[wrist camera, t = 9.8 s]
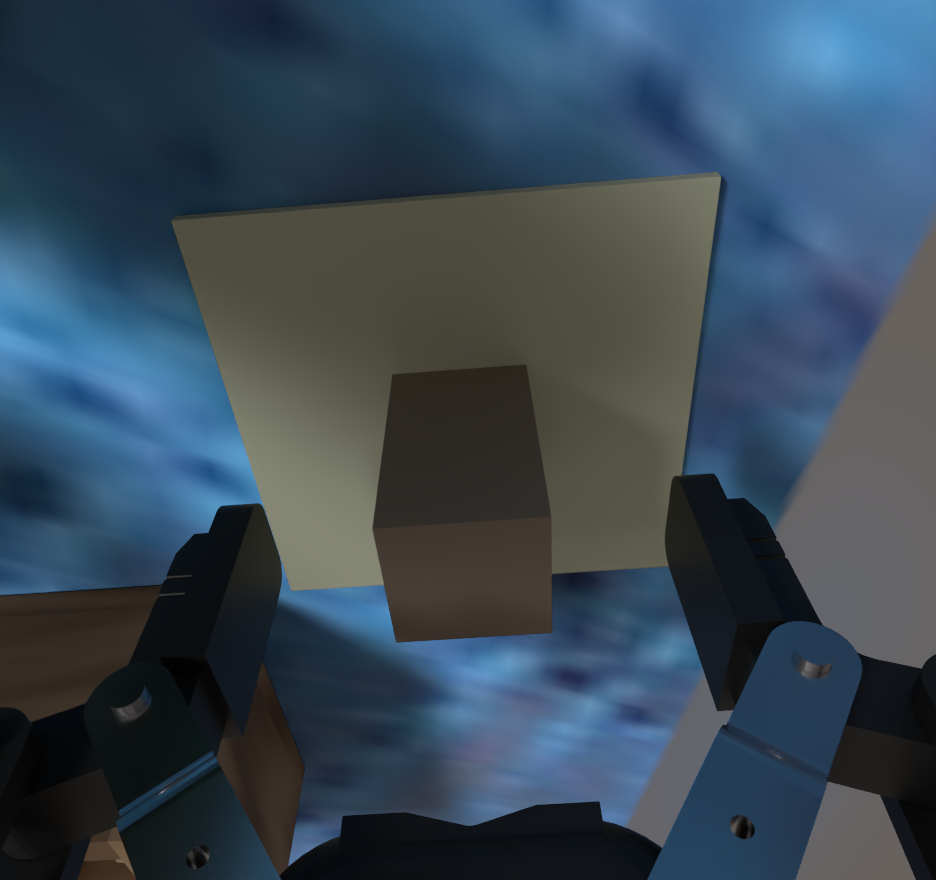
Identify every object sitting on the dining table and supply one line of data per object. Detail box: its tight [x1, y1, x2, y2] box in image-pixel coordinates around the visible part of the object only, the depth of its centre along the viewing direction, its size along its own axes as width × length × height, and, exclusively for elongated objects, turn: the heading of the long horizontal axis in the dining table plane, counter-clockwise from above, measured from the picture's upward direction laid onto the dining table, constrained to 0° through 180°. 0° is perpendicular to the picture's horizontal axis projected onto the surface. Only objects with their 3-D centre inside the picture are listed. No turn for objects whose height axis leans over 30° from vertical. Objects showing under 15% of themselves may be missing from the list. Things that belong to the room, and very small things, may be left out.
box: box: [0, 585, 305, 880], centre depth 20 cm, size 10×10×7 cm
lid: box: [171, 172, 721, 642], centre depth 15 cm, size 11×11×6 cm
